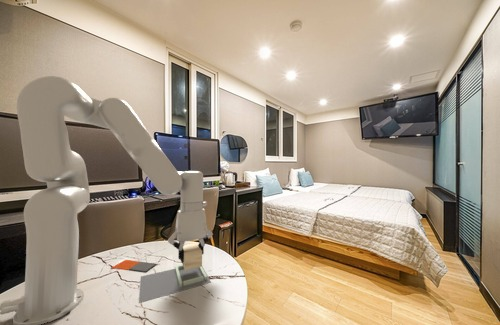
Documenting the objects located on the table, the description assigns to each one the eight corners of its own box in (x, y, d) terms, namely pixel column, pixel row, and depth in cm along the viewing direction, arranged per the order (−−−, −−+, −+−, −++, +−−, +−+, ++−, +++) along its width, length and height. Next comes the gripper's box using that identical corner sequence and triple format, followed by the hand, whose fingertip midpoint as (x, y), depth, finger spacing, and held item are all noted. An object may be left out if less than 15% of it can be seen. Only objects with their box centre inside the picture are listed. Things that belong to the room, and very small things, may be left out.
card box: (181, 259, 67) (181, 245, 67) (196, 256, 70) (196, 242, 70) (184, 270, 60) (185, 254, 60) (201, 266, 63) (202, 251, 63)
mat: (138, 304, 51) (138, 299, 51) (140, 278, 63) (140, 273, 63) (211, 283, 60) (211, 279, 60) (200, 264, 72) (200, 260, 72)
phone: (125, 259, 74) (158, 263, 71) (125, 262, 74) (158, 266, 71) (110, 267, 68) (146, 272, 65) (110, 271, 68) (145, 276, 65)
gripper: (212, 202, 73) (212, 249, 72) (164, 206, 65) (163, 259, 64) (218, 206, 66) (218, 257, 66) (166, 211, 58) (165, 270, 58)
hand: (191, 258), depth 65 cm, fingers closed on card box, 5 cm apart
